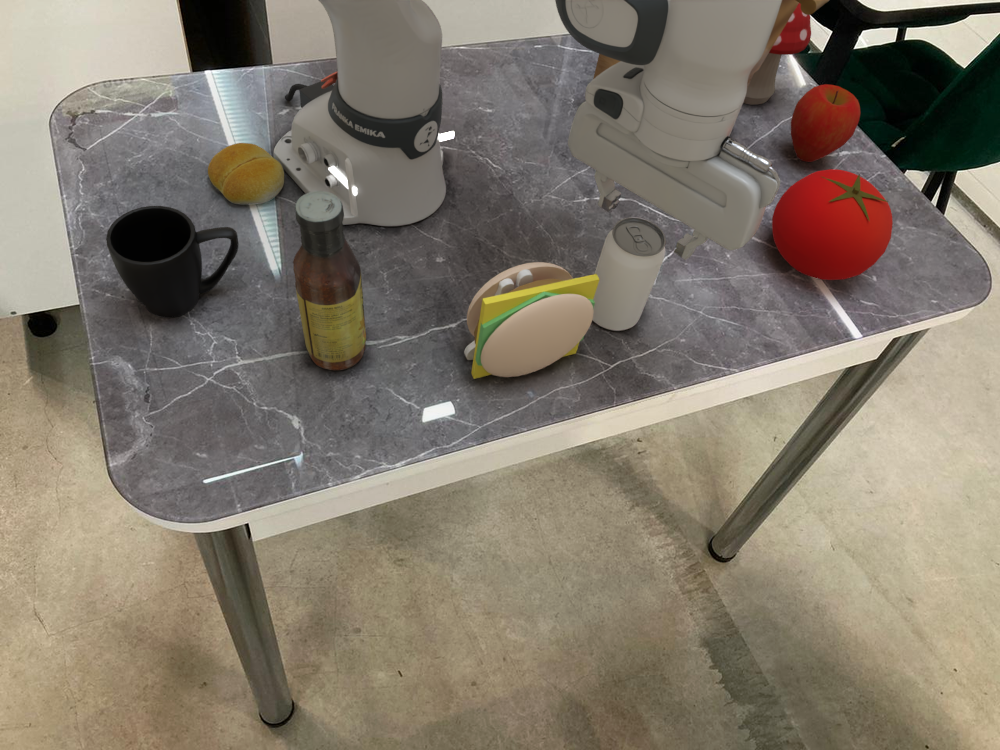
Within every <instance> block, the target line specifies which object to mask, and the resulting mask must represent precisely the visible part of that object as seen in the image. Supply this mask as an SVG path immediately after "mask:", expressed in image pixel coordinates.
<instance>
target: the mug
mask: <svg viewBox="0 0 1000 750" xmlns="http://www.w3.org/2000/svg"><path fill="white" fill-rule="evenodd" d="M238 237H239V236H238V233H237V230H236V229H234V228H232V227H230V226H220V227H219V226H218V227H212V228H207V229H202V230H199V231H196V227H195V224H194V222H193V221H192V219H191V218H190V217H189V216H188V215H187V214H186V213H185V212H182V211H181V210H180V209H176V208H173V207H171V206H165V205H148V206H147V205H146V206H141V207H138V208H134V209H131V210H129V211H127V212H125V213H123V214H122V215H120V216H119V217H117V218H116V219H115V220H114V221H113V222H112V223H111V225H110V226H109V228H108V230H107V233H106V238H105V239H106V240H105V241H106V247H107V250H108V252H109V255H110V258H111V260H112V263H113V265H114V267H115V269H116V271H117V273H118V275H119V277H120V278H121V280H122V282H123V283H124V284H125V286H126V288H127V289H128V290H129V291H130V292H131V294H132V295H133V296H134V297H135V298H136V299H137V300H138V301H139V302H140V303H141V304H142V305H143V307H145V309H146V310H147V311H148V312H149V313H151V314H152V315H154V316H157V317H159V318H167V319H168V318H169V319H171V318H177V317H181V316H183V315H185V314H187V313H189V312H191V311H192V310H193V309H194V308H195V306H196V305H197V303H198V301H199V297H200V294H205V293H208V292H210V291H211V290H213V289H214V288H215V287H216V286H217V285H218V284H219V282H220V281H221V279H222V278H223V276H225V273H226V272H227V270H228V269H229V267H230V266H231V265H232V263H233V260H234V259H235V257H236V256H237V254H238V251H239V238H238ZM218 239H228V240H230V245H229V248H228V251H227V253H226V255H225V256H224V259H223V260H222V262H221V263H220V265H219V266H218V267H217V268H216V270H215V271H214V272H213V273H212V274H211V275H209V276H207V277H205V278H202V274H203V273H202V272H203V260H202V251H201V246H200V244H202V243H206V242H209V241H212V240H218Z"/></svg>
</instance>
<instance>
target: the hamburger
mask: <svg viewBox="0 0 1000 750" xmlns="http://www.w3.org/2000/svg"><path fill="white" fill-rule="evenodd" d="M599 280H600V279H599V277H598V276H597V274H595V273H593V274H590V275H585V276H580V277H575V278H573V276H572V275H571V273H570V272H569V271H568V270H566V269H565V268H564V267H562V266H560V265H557V264H555V263H552V262H546V261H545V262H544V261H534V262H526V263H522V264H518V265H514V266H512V267H510V268H508V269H505V270H503V271H501V272H500V273H498V274H497V275H495V276H493V277H491V278H490V279H489V280H488V281H487V282H485V283H484V284H483V285H482V286H481V287H480V289H479V290H477V292H476V293H475V294H474V296H473V297H472V300H471V301H470V303H469V306H468V309H467V313H466V324H467V328H468V331H469V333H470V334H471V335H472V336H473V337H474V339H473V341H472V342H470V343H468V345H467V346H466V347H465V349H464V351H463V354H464V356H465V358H466V360H467V361H472V366H471V373H470V374H471V376H472V378H473V380H475V379H479V378H484V377H486V376H487V377H488V376H491V375H492V376H495V377H500V378H513V377H514V378H515V377H520V376H526V375H529V374H531V373H534V372H537V371H540V370H542V369H545V368H546V367H548V366H550V365H552V364H553V363H556V362H557V361H558V360H560V359H561V358H564V357H567V356H571V355H575V354H577V352H578V349H579V345H580V342H582V341H583V340H584V338H585V335H586V334H587V332H588V330H589V329H590V327H591V325H592V322H593V320H592V319H593V313H594V311H593V308H594V304H595V302H594V300H593V298H594V295H595V292H596V289H597V286H598V283H599Z"/></svg>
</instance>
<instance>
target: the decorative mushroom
mask: <svg viewBox="0 0 1000 750" xmlns="http://www.w3.org/2000/svg"><path fill="white" fill-rule="evenodd" d="M811 25H812V24H811V14H810V15H806V14H804V13H803V12H802V11H801V4H800V3H799V4H798V5H797V7H796V9H795V10H794V12H793V14H792V15H791V17H790V19H789V20H788V22H787V24H786V25H785V27H784V29H783V30H782V32H781V33H780V35H779V37H778V38H777V40H776V42H775V43H774V45H773V47H772V48H771V50H770V52H769V53H768V55H767V57H766V58H765V60H764V62H763V63H762V65H761V67H760V68H759V70H757V71H756V72H755V73H754V74H753V77H752V79H751V81H750V84H749V86H748V89H747V93H746V96H745V100H744V102H743V104H746V105H762V104H764V103H766V102H767V101H769V100H770V99H771V97H772V96H773V94H775V92H776V78H777V73H778V69H779V66H780V62H781V58H782V56H785V55H786V56H788V55H794V54H799V53H801V52H802V51H804V50H805V49H806V48H807V46H808V45H809V43H810V42H811V38H812V26H811Z"/></svg>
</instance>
